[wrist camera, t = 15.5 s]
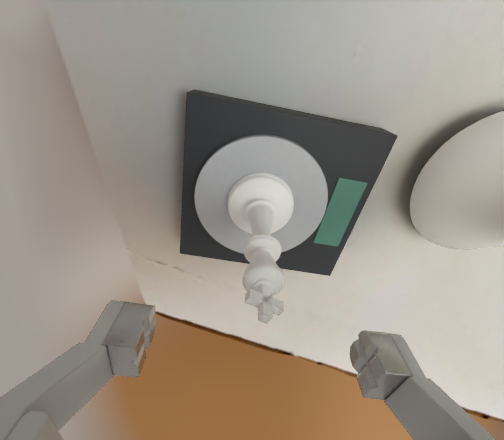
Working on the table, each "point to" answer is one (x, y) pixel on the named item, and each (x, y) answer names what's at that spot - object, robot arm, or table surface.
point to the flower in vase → (463, 189)
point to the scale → (283, 166)
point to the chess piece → (262, 236)
